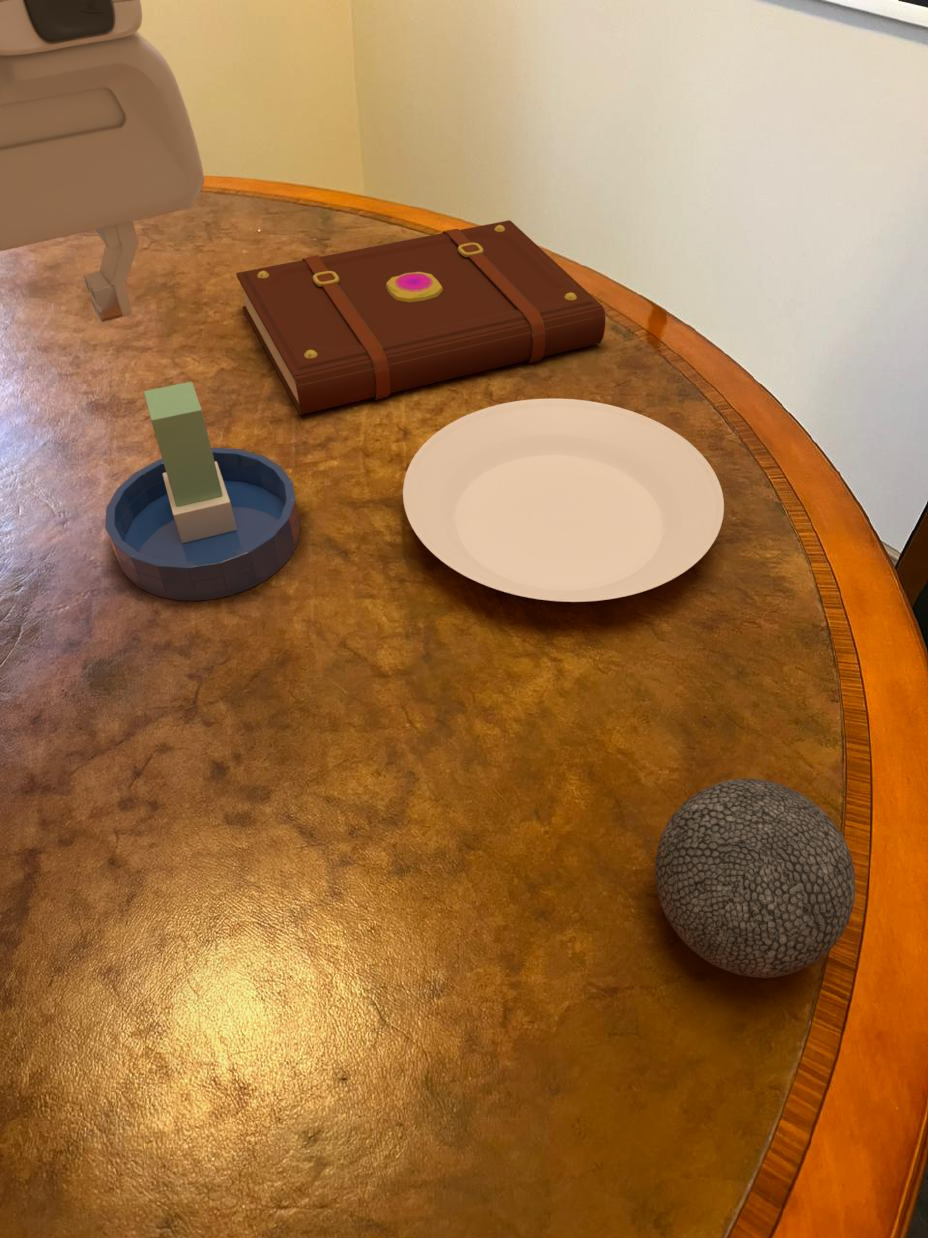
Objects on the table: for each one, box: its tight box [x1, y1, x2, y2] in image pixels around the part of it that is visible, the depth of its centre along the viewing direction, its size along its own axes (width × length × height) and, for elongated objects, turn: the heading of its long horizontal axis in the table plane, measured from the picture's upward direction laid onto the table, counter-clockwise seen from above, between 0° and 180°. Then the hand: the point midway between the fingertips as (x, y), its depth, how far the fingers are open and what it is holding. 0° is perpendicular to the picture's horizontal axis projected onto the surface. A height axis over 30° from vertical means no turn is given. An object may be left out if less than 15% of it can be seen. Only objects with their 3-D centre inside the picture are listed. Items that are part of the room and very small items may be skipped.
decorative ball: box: [654, 777, 856, 979], centre depth 49 cm, size 10×10×10 cm
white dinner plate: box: [402, 398, 725, 603], centre depth 74 cm, size 25×25×4 cm
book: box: [235, 219, 606, 415], centre depth 95 cm, size 23×32×5 cm
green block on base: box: [143, 381, 237, 543], centre depth 72 cm, size 4×6×11 cm
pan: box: [104, 447, 301, 602], centre depth 73 cm, size 14×14×4 cm
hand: (14, 339), depth 44 cm, fingers open, 8 cm apart
